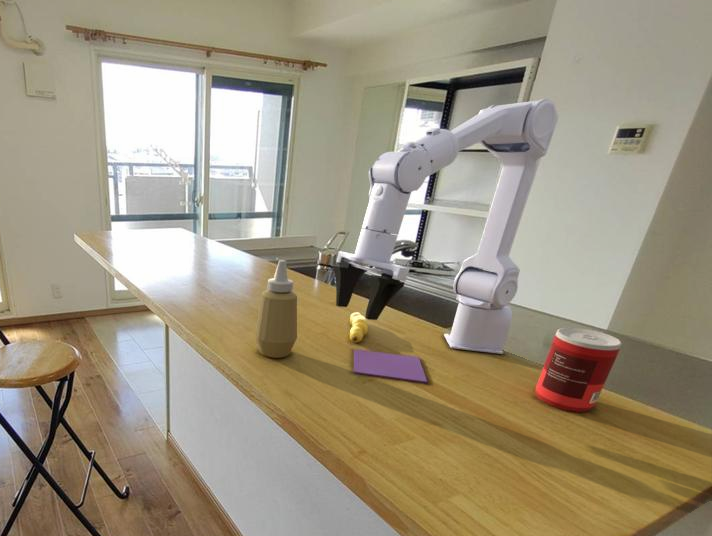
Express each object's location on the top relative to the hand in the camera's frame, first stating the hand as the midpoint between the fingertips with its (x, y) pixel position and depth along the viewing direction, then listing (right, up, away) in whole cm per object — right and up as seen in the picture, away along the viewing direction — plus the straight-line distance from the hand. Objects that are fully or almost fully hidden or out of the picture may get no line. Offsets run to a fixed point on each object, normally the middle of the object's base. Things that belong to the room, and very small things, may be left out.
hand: (355, 312), depth 74 cm
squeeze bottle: (-13, -7, +10) cm, 18 cm away
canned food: (+31, -15, -6) cm, 35 cm away
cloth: (+8, -9, +5) cm, 13 cm away
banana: (+8, -2, +22) cm, 23 cm away
